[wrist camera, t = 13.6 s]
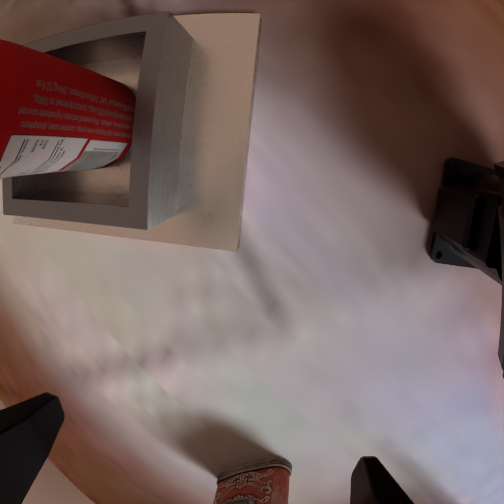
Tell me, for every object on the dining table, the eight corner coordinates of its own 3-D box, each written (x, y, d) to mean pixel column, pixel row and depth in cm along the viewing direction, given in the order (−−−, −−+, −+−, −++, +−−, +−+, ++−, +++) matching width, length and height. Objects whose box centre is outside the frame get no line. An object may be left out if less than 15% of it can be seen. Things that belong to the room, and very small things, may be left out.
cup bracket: (261, 20, 15) (251, -20, 11) (239, 246, 19) (222, 275, 15) (33, 50, 17) (-10, 39, 12) (21, 220, 21) (-23, 235, 16)
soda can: (106, 67, 16) (-43, 12, 5) (161, 114, 17) (-2, 65, 5) (58, 135, 18) (-95, 137, 6) (107, 186, 18) (-60, 222, 7)
